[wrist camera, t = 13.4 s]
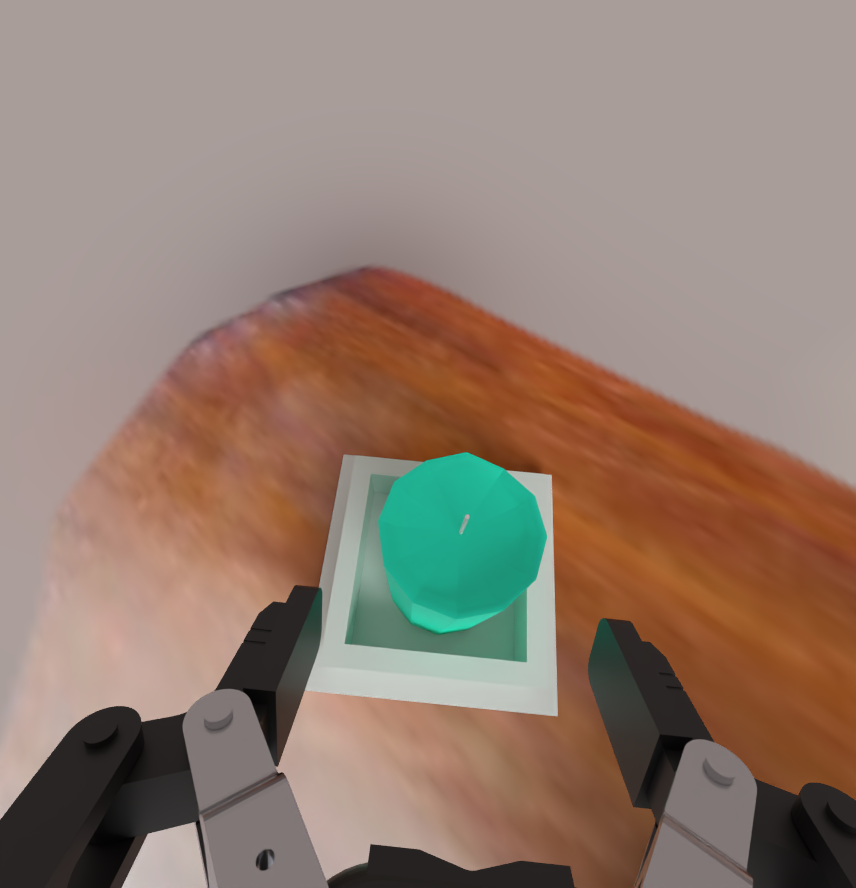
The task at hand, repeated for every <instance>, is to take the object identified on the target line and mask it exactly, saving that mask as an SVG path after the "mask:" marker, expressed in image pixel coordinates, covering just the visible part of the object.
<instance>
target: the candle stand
mask: <svg viewBox="0 0 856 888" xmlns="http://www.w3.org/2000/svg"><path fill="white" fill-rule="evenodd" d="M422 463H423V462H418V461H408V460H398V459H389V458H379V457H369V456H359V455H345V454H344V456H343V461H342V466H341V472H340V477H339V482H338V488H337V493H336V498H335V504H334V509H333V514H332V520H331V525H330V530H329V536H328V541H327V546H326V552H325V557H324V562H323V568H322V573H321V578H320V584H319V588H322V633H321V641H320V646H319V650H318V654H317V657H316V659H315V662H314V665H313V668H312V671H311V674H310V676H309V679H308V682H307V685H306V688H305V691H315V692H325V693H335V694H345V695H354V696H364V697H374V698H384V699H393V700H403V701H413V702H423V703H432V704H442V705H452V706H462V707H472V708H481V709H491V710H501V711H511V712H520V713H530V714H540V715H550V716H558V707H557V668H556V628H555V589H554V549H553V509H552V475H545V474H538V473H528V472H518V471H508V470H506V471H507V472H508V473H509V474H511V475H512V476H513V477H514V478H515V479H516V480H517V481H519V482H520V483H521V484H522V485H523V486H524V487H525V488H527V489H528V490H529V491H530V492H531V493H532V494H534V495H535V497H536V500H537V504H538V507H539V510H540V514H541V517H542V520H543V523H544V527H545V530H546V533H547V541H546V544H545V548H544V552H543V556H542V560H541V563H540V567H539V571H538V575H537V578H536V580H535V581H534V582H533V583H532V584H531V585H530V586H529V587H528V588H527V589H526V590H525V591H524V592H523V593H522V594H521V595H520V596H519V597H517V598H516V599H515V600H514V601H513V602H512V603H511V604H510V605H509V606H508V607H507V608H506V609H505V610H504V611H502V612H500V613H498V614H496V615H494V616H492V617H490V618H488V619H486V620H484V621H482V622H481V623H479V624H477V625H475V626H473V627H471V628H469V629H467V630H463V631H457V632H452V633H446V634H441V635H437V634H434V633H432V632H429V631H427V630H424V629H422V628H419V627H416V626H414V625H411V624H410V623H409V621H408V620H407V619H406V617H405V616H404V615H403V613H402V612H401V611H400V610H399V608H398V607H397V606H396V604H395V603H394V602H393V600H392V596H391V592H390V588H389V584H388V580H387V576H386V572H385V569H384V564H383V556H382V549H381V541H380V534H379V526H378V519H379V517H380V515H381V512H382V510H383V507H384V505H385V503H386V500H387V498H388V495H389V493H390V490H391V488H392V486H393V483H394V481H396V480H397V479H399V478H400V477H402V476H403V475H405V474H407V473H408V472H410V471H411V470H413V469H414V468H416V467H417V466H419V465H420V464H422Z"/></svg>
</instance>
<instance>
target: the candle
mask: <svg viewBox="0 0 856 888" xmlns="http://www.w3.org/2000/svg"><path fill="white" fill-rule="evenodd" d="M378 526H379V534H380V541H381V549H382V556H383V564H384V569H385V572H386V576H387V580H388V584H389V588H390V592H391V596H392V600H393V602H394V603H395V604H396V606H397V607H398V608H399V610H400V611H401V612H402V613H403V615H404V616H405V617H406V619H407V620H408V621H409V623H410V624H411V625H414V626H416V627H419V628H422V629H424V630H427V631H429V632H432V633H434V634H437V635H441V634H446V633H452V632H457V631H463V630H467V629H469V628H471V627H473V626H475V625H477V624H479V623H481V622H482V621H484V620H486V619H488V618H490V617H492V616H494V615H496V614H498V613H500V612H502V611H504V610H505V609H506V608H507V607H508V606H509V605H510V604H511V603H512V602H513V601H514V600H515V599H516V598H517V597H519V596H520V595H521V594H522V593H523V592H524V591H525V590H526V589H527V588H528V587H529V586H530V585H531V584H532V583H533V582H534V581H535V580H536V578H537V575H538V571H539V567H540V563H541V560H542V556H543V552H544V548H545V544H546V541H547V533H546V530H545V527H544V523H543V520H542V517H541V514H540V510H539V507H538V504H537V500H536V497H535V495H534V494H532V493H531V492H530V491H529V490H528V489H527V488H525V487H524V486H523V485H522V484H521V483H520V482H519V481H517V480H516V479H515V478H514V477H513V476H512V475H511V474H509V473H508V472H507V471H506V470H505V469H503V468H501V467H499V466H497V465H494V464H492V463H490V462H488V461H486V460H483V459H481V458H479V457H477V456H475V455H472V454H470V453H468V452H464V453H460V454H455V455H450V456H445V457H441V458H436V459H431V460H426V461H425V462H423V463H422V464H420V465H419V466H417V467H416V468H414V469H413V470H411V471H410V472H408V473H407V474H405V475H403V476H402V477H400V478H399V479H397V480H396V481H394V483H393V486H392V488H391V490H390V493H389V495H388V498H387V500H386V503H385V505H384V507H383V510H382V512H381V515H380V517H379V519H378Z"/></svg>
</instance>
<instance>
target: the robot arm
mask: <svg viewBox="0 0 856 888" xmlns="http://www.w3.org/2000/svg"><path fill="white" fill-rule="evenodd" d="M321 633H322V588H319V587H309V586H300V585H295V586H294V588H293V590H292V592H291V594H290V596H289V598H288V600H287V602H286V603H282V602H272V603H271V604H270V605H269V606H268V607H266V608H265V609H264V610H263V611H261V612H260V613H259V614H258V616H257V618H256V620H255V621H254V623H253V625H252V627H251V630H250V631H249V632H248V634H247V635H246V637H245V639H244V642H243V643H242V644H241V646H240V648H239V649H238V651H237V653H236V655H235V657H234V658H233V660H232V662H231V664H230V665H229V667H228V669H227V671H226V672H225V674H224V676H223V678H222V679H221V681H220V683H219V685H218V686H217V688H216V690H215V691H214V692H211V693H209V694H207V695H205V696H203V697H202V698H200V699H199V700H198V701H196V702H195V703H194V704H193V705H192V706H191V707H190V709H189V710H188V712H186V713H183V714H180V715H177V716H172V717H167V718H161V719H156V720H151V721H145V722H141V718H140V716H139V714H138V713H137V711H135V710H134V709H132V708H129V707H124V706H115V707H109V708H105V709H102V710H99V711H97V712H95V713H93V714H91V715H89V716H87V717H85V718H84V719H82V720H81V721H80V722H78V723H77V724H76V725H75V726H74V727H73V728H72V729H71V730H70V731H69V732H68V733H67V734H66V735H65V737H64V738H63V739H62V741H61V742H60V743H59V744H58V746H57V747H56V748H55V750H54V751H53V752H52V754H51V755H50V756H49V757H48V759H47V760H46V761H45V763H44V764H43V765H42V766H41V768H40V769H39V770H38V772H37V773H36V774H35V776H34V777H33V778H32V779H31V781H30V782H29V783H28V785H27V786H26V787H25V789H24V790H23V791H22V792H21V794H20V795H19V796H18V798H17V799H16V800H15V801H14V803H13V804H12V805H11V807H10V808H9V809H8V811H7V812H6V813H5V814H4V816H3V817H2V818H1V820H0V888H122V886H123V884H124V881H125V879H126V877H127V875H128V873H129V871H130V869H131V867H132V865H133V863H134V861H135V859H136V857H137V855H138V853H139V851H140V849H141V847H142V845H143V843H144V840H145V838H146V836H147V834H148V833H152V832H156V831H160V830H164V829H168V828H172V827H176V826H180V825H184V824H188V823H192V822H194V823H195V828H196V833H197V838H198V843H199V849H200V854H201V859H202V864H203V869H204V874H205V880H206V885H207V888H576V887H574V883H573V878H572V874H571V869H570V866H563V865H554V864H545V863H536V862H527V861H518V862H513V863H509V864H504V865H500V866H495V867H490V868H486V869H481V870H477V871H469V870H465V869H463V868H461V867H458V866H456V865H454V864H452V863H449V862H447V861H445V860H442V859H440V858H438V857H435V856H433V855H431V854H428V853H426V852H424V851H421V850H418V849H409V848H400V847H391V846H381V845H372V844H371V846H370V853H369V860H368V863H364V864H359V865H356V866H353V867H351V868H348V869H345V870H344V871H342V872H340V873H338V874H336V875H334V876H333V877H331V878H330V879H329V880H327V881H326V879H325V876H324V874H323V871H322V868H321V866H320V863H319V861H318V858H317V855H316V853H315V850H314V847H313V845H312V842H311V840H310V837H309V834H308V832H307V829H306V827H305V824H304V821H303V819H302V816H301V814H300V811H299V808H298V806H297V803H296V800H295V798H294V795H293V793H292V790H291V787H290V785H289V782H288V780H287V778H286V776H285V775H284V773H282V772H281V773H278V772H277V770H276V767H275V766H277V767H278V765H279V762H280V759H281V756H282V753H283V750H284V747H285V745H286V742H287V739H288V736H289V733H290V730H291V728H292V725H293V722H294V719H295V716H296V713H297V711H298V708H299V705H300V702H301V699H302V696H303V693H304V691H305V688H306V685H307V682H308V679H309V676H310V674H311V671H312V668H313V665H314V662H315V659H316V657H317V654H318V650H319V646H320V641H321ZM588 674H589V680H590V684H591V687H592V690H593V693H594V696H595V699H596V702H597V704H598V707H599V710H600V713H601V716H602V719H603V722H604V724H605V727H606V730H607V733H608V736H609V739H610V742H611V744H612V747H613V750H614V753H615V756H616V759H617V762H618V764H619V767H620V770H621V773H622V776H623V779H624V782H625V784H626V787H627V790H628V793H629V796H630V799H631V802H632V804H633V807H639V808H648V809H652V812H653V814H654V817H655V820H656V821H655V824H654V826H653V829H652V832H651V835H650V838H649V841H648V844H647V847H646V850H645V853H644V856H643V859H642V862H641V865H640V868H639V871H638V874H637V877H636V880H635V883H634V886H633V888H856V801H855V800H854V799H853V798H851V797H850V796H848V795H847V794H845V793H843V792H841V791H840V790H838V789H835V788H833V787H831V786H828V785H825V784H821V783H808V784H806V785H804V786H803V787H802V789H801V791H800V793H799V795H798V796H797V795H795V794H792V793H790V792H787V791H785V790H782V789H779V788H777V787H774V786H772V785H769V784H767V783H764V782H762V781H759V780H757V779H755V778H754V777H753V775H752V774H751V772H750V770H749V769H748V768H747V766H746V765H745V764H744V763H743V762H742V761H741V760H740V759H739V758H738V757H737V756H736V755H735V754H733V753H732V752H731V751H729V750H728V749H726V748H725V747H723V746H721V745H719V744H717V743H715V742H714V741H713V739H712V737H711V735H710V734H709V732H708V730H707V728H706V727H705V725H704V723H703V722H702V720H701V718H700V716H699V715H698V713H697V711H696V709H695V708H694V706H693V704H692V702H691V701H690V699H689V697H688V695H687V694H686V692H685V691H683V687H682V685H681V683H680V681H679V680H678V678H677V677H675V673H674V671H673V669H672V668H671V666H670V664H669V662H668V661H667V659H666V657H665V656H664V655H663V654H662V653H661V652H660V651H659V650H657V649H656V648H655V647H654V646H653V645H652V644H651V643H650V642H643V641H641V639H640V637H639V635H638V633H637V631H636V629H635V627H634V626H633V624H632V623H631V622H630V621H625V620H615V619H606V618H602V619H601V620H600V622H599V625H598V628H597V632H596V636H595V639H594V643H593V647H592V650H591V654H590V658H589V663H588Z"/></svg>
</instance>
